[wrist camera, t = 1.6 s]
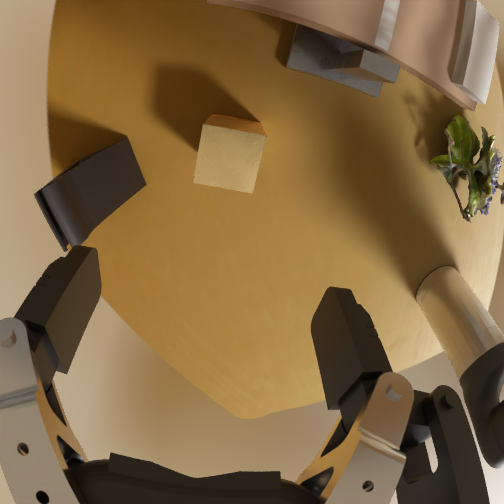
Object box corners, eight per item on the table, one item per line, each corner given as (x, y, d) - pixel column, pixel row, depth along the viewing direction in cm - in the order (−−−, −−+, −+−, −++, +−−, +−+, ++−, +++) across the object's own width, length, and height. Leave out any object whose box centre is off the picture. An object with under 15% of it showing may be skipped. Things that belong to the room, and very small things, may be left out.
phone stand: (88, 206, 32) (40, 261, 22) (69, 165, 29) (11, 208, 19) (147, 184, 31) (107, 238, 21) (129, 137, 28) (75, 172, 18)
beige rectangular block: (260, 122, 28) (266, 136, 21) (249, 166, 30) (252, 193, 24) (213, 113, 27) (203, 124, 20) (204, 157, 30) (193, 182, 23)
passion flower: (449, 154, 34) (488, 222, 30) (400, 162, 34) (443, 241, 29) (482, 105, 24) (535, 180, 20) (433, 101, 23) (498, 192, 19)
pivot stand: (401, -26, 16) (456, -48, 7) (372, 96, 26) (428, 110, 17) (320, -61, 15) (351, -104, 6) (284, 67, 24) (308, 60, 15)
